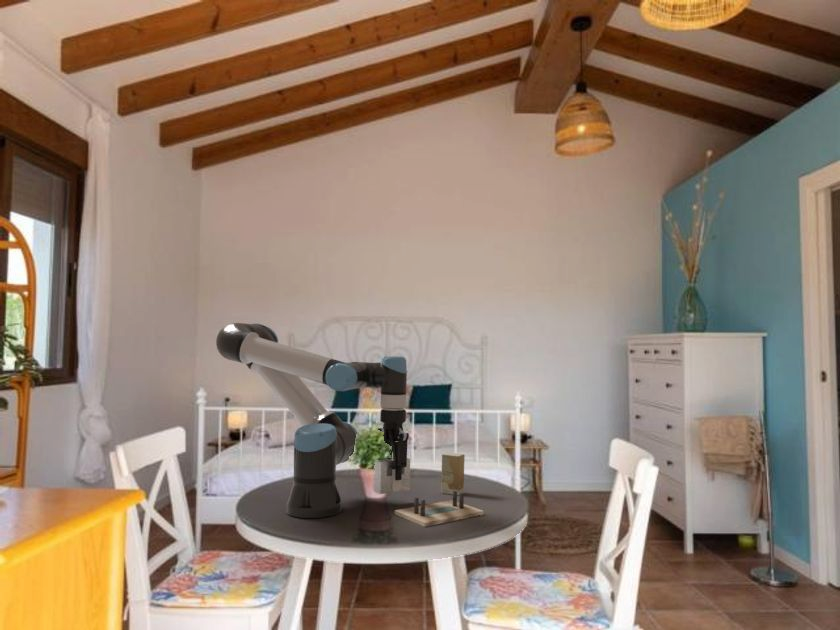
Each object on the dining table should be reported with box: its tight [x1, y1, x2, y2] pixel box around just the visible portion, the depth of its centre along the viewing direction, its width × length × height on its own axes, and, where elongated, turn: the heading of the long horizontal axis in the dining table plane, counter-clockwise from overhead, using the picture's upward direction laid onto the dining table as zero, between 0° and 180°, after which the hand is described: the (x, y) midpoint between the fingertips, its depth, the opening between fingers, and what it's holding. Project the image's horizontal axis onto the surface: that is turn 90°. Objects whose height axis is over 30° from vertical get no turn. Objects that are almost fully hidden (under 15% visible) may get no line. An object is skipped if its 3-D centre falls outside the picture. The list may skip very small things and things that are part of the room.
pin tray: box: [394, 491, 485, 528], centre depth 163 cm, size 20×14×5 cm
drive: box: [372, 457, 411, 495], centre depth 174 cm, size 10×4×9 cm, turn 125°
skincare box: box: [440, 452, 466, 496], centre depth 187 cm, size 6×4×12 cm
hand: (391, 489), depth 173 cm, fingers closed on drive, 4 cm apart
